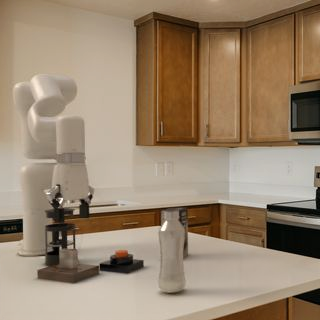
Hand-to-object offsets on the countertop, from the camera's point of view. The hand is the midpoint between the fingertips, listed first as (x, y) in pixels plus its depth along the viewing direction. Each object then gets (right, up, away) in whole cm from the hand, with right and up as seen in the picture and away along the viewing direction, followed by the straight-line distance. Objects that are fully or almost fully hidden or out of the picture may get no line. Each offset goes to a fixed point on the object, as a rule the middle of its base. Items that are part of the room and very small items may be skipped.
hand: (72, 220), depth 128 cm
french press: (-10, -16, +17) cm, 25 cm away
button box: (+12, -16, +7) cm, 21 cm away
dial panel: (-1, -16, 0) cm, 16 cm away
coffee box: (+26, -15, +22) cm, 37 cm away
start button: (+12, -12, +7) cm, 18 cm away
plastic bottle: (+31, -16, -16) cm, 38 cm away
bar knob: (-1, -13, 0) cm, 13 cm away
